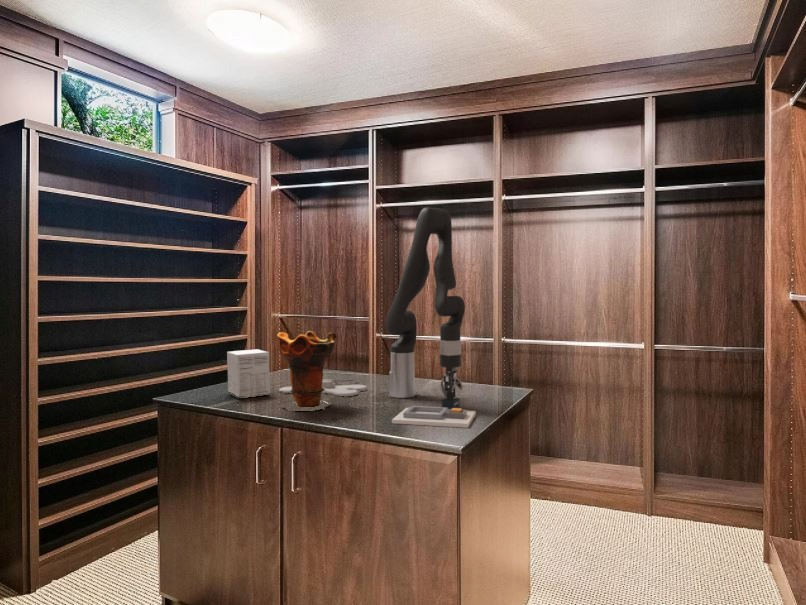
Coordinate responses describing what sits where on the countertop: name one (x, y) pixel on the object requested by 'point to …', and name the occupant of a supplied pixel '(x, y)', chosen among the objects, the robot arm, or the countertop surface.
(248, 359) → the supplement box
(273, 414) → the countertop surface
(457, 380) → the watch
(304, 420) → the countertop surface
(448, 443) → the countertop surface
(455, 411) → the button
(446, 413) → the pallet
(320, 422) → the countertop surface
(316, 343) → the decorative vase
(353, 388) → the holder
